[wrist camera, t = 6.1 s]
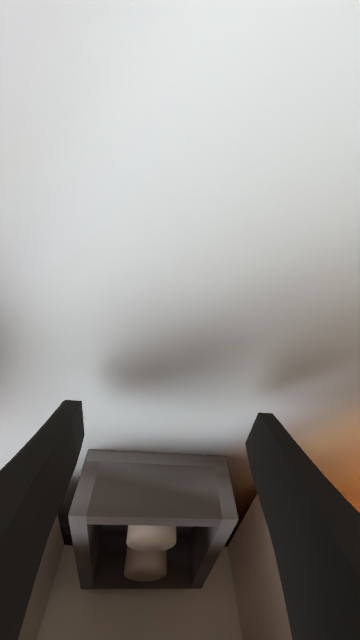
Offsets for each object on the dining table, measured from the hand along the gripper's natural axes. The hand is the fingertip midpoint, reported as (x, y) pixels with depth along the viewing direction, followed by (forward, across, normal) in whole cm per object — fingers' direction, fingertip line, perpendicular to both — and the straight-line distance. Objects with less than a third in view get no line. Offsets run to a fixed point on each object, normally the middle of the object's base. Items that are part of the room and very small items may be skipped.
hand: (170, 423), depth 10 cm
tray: (+2, 0, +10) cm, 10 cm away
